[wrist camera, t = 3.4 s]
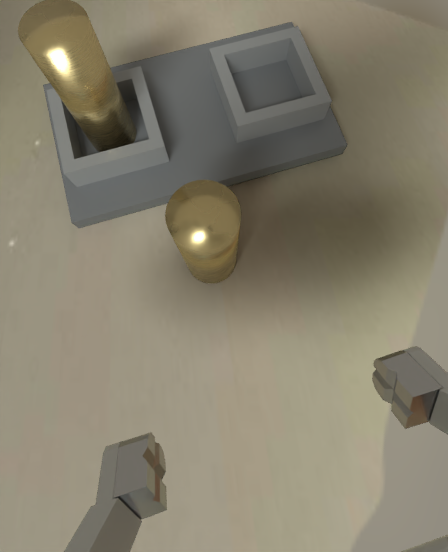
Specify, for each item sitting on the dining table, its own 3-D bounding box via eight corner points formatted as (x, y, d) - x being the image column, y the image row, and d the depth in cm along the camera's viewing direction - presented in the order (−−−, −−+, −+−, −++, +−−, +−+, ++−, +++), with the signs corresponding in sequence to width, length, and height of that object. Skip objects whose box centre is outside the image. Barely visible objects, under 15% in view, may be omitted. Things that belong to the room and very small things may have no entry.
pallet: (79, 228, 25) (57, 212, 22) (51, 95, 28) (28, 64, 25) (342, 153, 26) (357, 128, 23) (289, 34, 29) (296, -3, 26)
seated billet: (95, 160, 25) (24, 62, 16) (86, 121, 26) (13, 7, 17) (141, 148, 25) (95, 44, 16) (130, 110, 26) (81, -9, 17)
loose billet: (195, 289, 24) (176, 259, 15) (182, 244, 24) (157, 191, 16) (241, 275, 24) (251, 237, 15) (227, 231, 25) (228, 171, 16)
